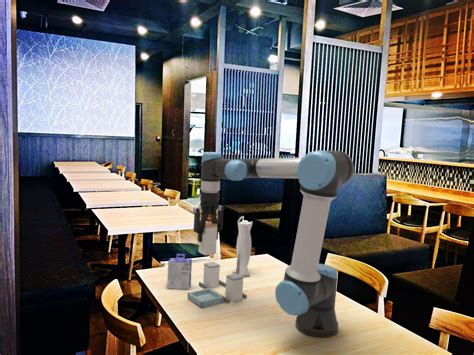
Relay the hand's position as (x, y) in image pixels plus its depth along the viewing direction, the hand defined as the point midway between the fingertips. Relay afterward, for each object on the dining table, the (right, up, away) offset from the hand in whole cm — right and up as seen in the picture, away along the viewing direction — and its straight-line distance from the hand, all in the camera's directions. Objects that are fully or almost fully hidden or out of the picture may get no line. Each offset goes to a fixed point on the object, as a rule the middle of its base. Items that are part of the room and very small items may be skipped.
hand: (207, 248), depth 163 cm
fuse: (0, -2, 0) cm, 2 cm away
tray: (-1, -22, +2) cm, 22 cm away
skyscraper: (+14, -19, +35) cm, 42 cm away
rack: (+5, -21, +12) cm, 25 cm away
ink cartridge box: (-14, -20, +15) cm, 28 cm away
